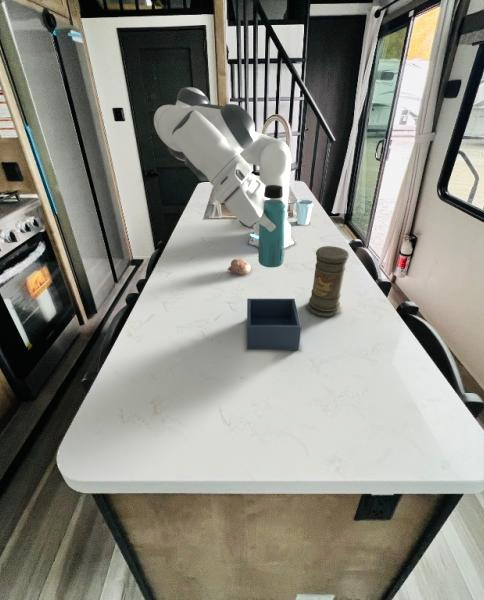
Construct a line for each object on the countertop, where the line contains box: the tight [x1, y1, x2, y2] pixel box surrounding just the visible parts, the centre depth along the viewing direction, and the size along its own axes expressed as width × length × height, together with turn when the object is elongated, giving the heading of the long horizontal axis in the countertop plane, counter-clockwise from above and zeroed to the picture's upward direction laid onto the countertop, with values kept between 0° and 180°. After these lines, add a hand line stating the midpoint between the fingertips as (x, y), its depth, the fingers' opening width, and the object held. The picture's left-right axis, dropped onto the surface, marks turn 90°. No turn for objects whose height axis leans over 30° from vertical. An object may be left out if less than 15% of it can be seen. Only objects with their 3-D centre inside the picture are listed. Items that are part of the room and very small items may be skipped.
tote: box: [246, 298, 302, 351], centre depth 82 cm, size 13×13×7 cm
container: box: [307, 245, 350, 318], centre depth 89 cm, size 9×9×18 cm
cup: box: [296, 199, 314, 226], centre depth 154 cm, size 8×8×10 cm
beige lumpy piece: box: [227, 258, 252, 276], centre depth 112 cm, size 8×6×8 cm
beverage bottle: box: [257, 185, 288, 268], centre depth 75 cm, size 6×7×20 cm
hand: (275, 224), depth 75 cm, fingers closed on beverage bottle, 5 cm apart
